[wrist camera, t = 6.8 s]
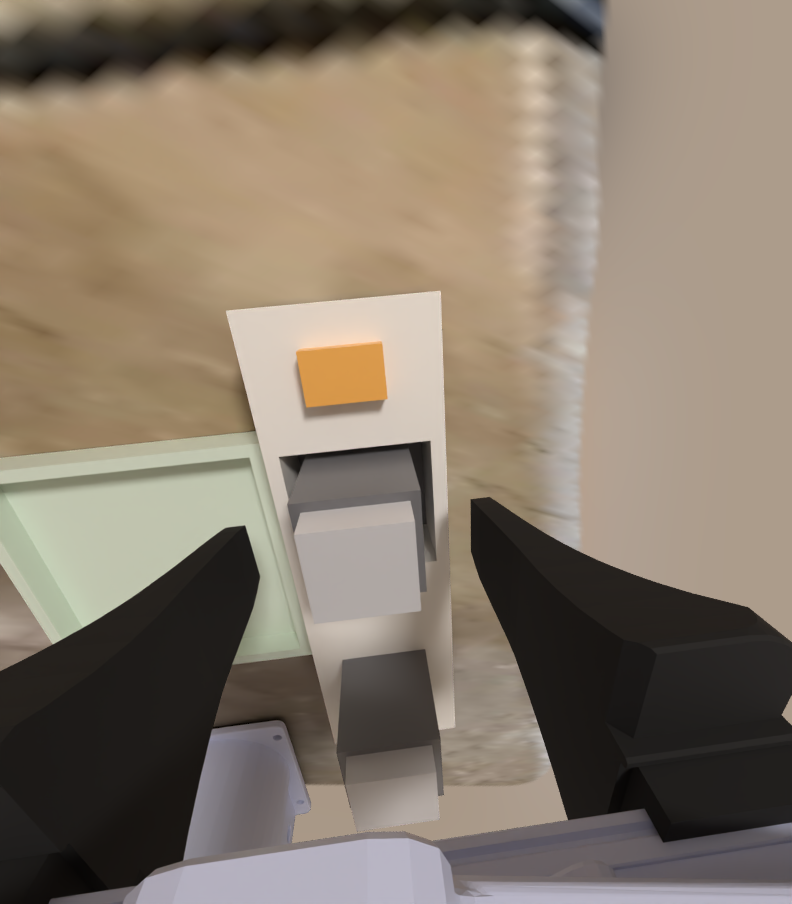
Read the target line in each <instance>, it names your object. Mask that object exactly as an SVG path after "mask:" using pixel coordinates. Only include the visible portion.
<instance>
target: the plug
mask: <svg viewBox="0 0 792 904" xmlns="http://www.w3.org/2000/svg"><path fill="white" fill-rule="evenodd" d="M287 506H288V511H289V515H290V519H291V524H292V528H293V532H294V538H295V543H296V547H297V551H298V556H299V560H300V564H301V569H302V573H303V577H304V582H305V586H306V590H307V595H308V599H309V603H310V608H311V612H312V616H313V621H314V624H319V623H327V622H335V621H344V620H352V619H360V618H368V617H376V616H385V615H393V614H401V613H409V612H418V611H421V600H420V592H427V586H426V569H425V553H424V537H423V520H422V504H421V490H420V486H419V483H418V479H417V476H416V472H415V469H414V465H413V462H412V458H411V455H410V451H409V448H408V444H407V443H404V444H394V445H385V446H376V447H366V448H357V449H348V450H339V451H329V452H320V453H311V454H306V456H305V459H304V462H303V464H302V467H301V469H300V472H299V475H298V477H297V480H296V483H295V485H294V488H293V490H292V493H291V496H290V498H289V501H288V503H287Z"/></svg>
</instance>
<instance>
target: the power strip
mask: <svg viewBox="0 0 792 904" xmlns="http://www.w3.org/2000/svg"><path fill="white" fill-rule="evenodd" d="M226 313H227V317H228V321H229V325H230V329H231V333H232V337H233V341H234V345H235V349H236V353H237V357H238V361H239V365H240V369H241V373H242V377H243V381H244V385H245V389H246V393H247V397H248V401H249V405H250V409H251V412H252V416H253V420H254V424H255V428H256V432H257V436H258V440H259V444H260V448H261V452H262V456H263V460H264V464H265V468H266V472H267V476H268V480H269V484H270V488H271V492H272V496H273V500H274V504H275V508H276V512H277V516H278V520H279V524H280V528H281V532H282V536H283V540H284V544H285V548H286V551H287V555H288V559H289V563H290V567H291V571H292V575H293V579H294V583H295V587H296V591H297V595H298V599H299V603H300V607H301V611H302V615H303V619H304V623H305V627H306V631H307V635H308V639H309V643H310V647H311V651H312V655H313V659H314V663H315V667H316V671H317V675H318V679H319V683H320V687H321V690H322V694H323V698H324V702H325V706H326V710H327V714H328V718H329V722H330V726H331V730H332V734H333V738H334V742H335V744H337V757H338V761H339V765H340V769H341V773H342V777H343V781H344V785H345V788H346V792H347V796H348V800H349V804H350V808H351V810H352V814H353V818H354V822H355V826H356V830H357V832H358V831H365V830H371V829H378V828H385V827H392V826H399V825H406V824H412V823H419V822H426V821H433V820H439V819H440V818H439V804H438V796H440V795H444V792H443V775H442V758H441V741H440V734H439V730H441V729H448V728H455V708H454V678H453V648H452V618H451V588H450V558H449V528H448V498H447V467H446V437H445V407H444V377H443V347H442V317H441V291H434V292H423V293H412V294H401V295H390V296H380V297H369V298H358V299H347V300H336V301H325V302H315V303H304V304H293V305H282V306H271V307H260V308H250V309H239V310H228V311H226ZM404 443H407V444H408V448H409V451H410V455H411V458H412V462H413V465H414V469H415V472H416V476H417V479H418V483H419V486H420V490H421V504H422V520H423V537H424V553H425V569H426V586H427V592H420V600H421V611H418V612H409V613H401V614H393V615H385V616H376V617H368V618H360V619H352V620H344V621H335V622H327V623H319V624H314V621H313V616H312V612H311V608H310V603H309V599H308V595H307V590H306V586H305V582H304V577H303V573H302V569H301V564H300V560H299V556H298V551H297V547H296V543H295V538H294V532H293V528H292V524H291V519H290V515H289V511H288V506H287V503H288V501H289V498H290V496H291V493H292V490H293V488H294V485H295V483H296V480H297V477H298V475H299V472H300V469H301V467H302V464H303V462H304V459H305V456H306V454H311V453H320V452H329V451H339V450H348V449H357V448H366V447H376V446H385V445H394V444H404Z"/></svg>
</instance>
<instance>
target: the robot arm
mask: <svg viewBox="0 0 792 904" xmlns="http://www.w3.org/2000/svg"><path fill="white" fill-rule="evenodd" d="M471 553H472V556H473V559H474V563H475V566H476V569H477V572H478V575H479V578H480V580H481V583H482V585H483V587H484V589H485V591H486V594H487V596H488V598H489V600H490V602H491V604H492V607H493V609H494V611H495V613H496V615H497V617H498V619H499V621H500V624H501V626H502V628H503V630H504V632H505V634H506V636H507V639H508V641H509V643H510V646H511V648H512V650H513V653H514V655H515V658H516V661H517V663H518V666H519V669H520V672H521V675H522V678H523V680H524V683H525V686H526V689H527V692H528V695H529V698H530V701H531V704H532V707H533V710H534V713H535V716H536V719H537V722H538V725H539V728H540V731H541V734H542V737H543V740H544V743H545V747H546V750H547V753H548V756H549V759H550V762H551V765H552V769H553V771H554V775H555V778H556V781H557V785H558V788H559V792H560V795H561V798H562V802H563V805H564V808H565V812H566V815H567V818H568V820H566V821H560V822H553V823H546V824H540V825H534V826H527V827H520V828H514V829H507V830H501V831H494V832H488V833H481V834H474V835H467V836H462V837H454V838H448V839H441V840H435V841H431V840H428V839H425V838H422V837H419V836H416V835H413V834H410V833H407V832H365V833H358V834H351V835H345V836H338V837H331V838H325V839H318V840H311V841H305V842H298V843H292V836H293V829H294V821H295V815H299V814H305V813H308V812H309V811H310V808H311V801H310V798H309V795H308V792H307V789H306V786H305V783H304V780H303V777H302V774H301V771H300V768H299V765H298V762H297V759H296V756H295V753H294V749H293V746H292V743H291V740H290V737H289V734H288V731H287V728H286V725H285V724H284V722H282V721H279V720H275V721H267V722H260V723H252V724H245V725H237V726H230V727H222V728H215V729H212V728H213V725H214V721H215V717H216V713H217V710H218V706H219V702H220V699H221V695H222V692H223V689H224V686H225V683H226V680H227V677H228V674H229V672H230V669H231V666H232V664H233V661H234V658H235V656H236V653H237V650H238V648H239V645H240V642H241V640H242V637H243V635H244V632H245V629H246V626H247V624H248V621H249V618H250V616H251V613H252V610H253V607H254V603H255V599H256V595H257V590H258V586H259V581H260V574H259V570H258V567H257V563H256V560H255V557H254V553H253V550H252V546H251V543H250V540H249V536H248V533H247V529H246V526H245V525H244V526H235V527H227V528H224V529H223V530H221V531H220V532H218V533H217V534H216V535H214V536H213V537H212V538H210V539H209V540H208V541H206V542H205V543H204V544H203V545H201V546H200V547H199V548H198V549H196V550H195V551H194V552H192V553H191V554H190V555H189V556H187V557H186V558H185V559H183V560H182V561H181V562H180V563H178V564H177V565H176V566H174V567H173V568H172V569H171V570H169V571H168V572H166V573H165V574H164V575H162V576H161V577H160V578H158V579H157V580H155V581H154V582H153V583H151V584H150V585H149V586H147V587H146V588H144V589H143V590H142V591H140V592H139V593H137V594H136V595H135V596H133V597H132V598H130V599H129V600H127V601H126V602H124V603H123V604H121V605H119V606H118V607H116V608H115V609H113V610H112V611H110V612H108V613H107V614H105V615H104V616H102V617H100V618H99V619H97V620H95V621H94V622H92V623H90V624H89V625H87V626H85V627H83V628H81V629H80V630H78V631H76V632H74V633H73V634H71V635H69V636H67V637H65V638H64V639H62V640H60V641H58V642H56V643H55V644H53V645H51V646H49V647H47V648H46V649H44V650H42V651H40V652H38V653H36V654H34V655H32V656H30V657H28V658H26V659H24V660H22V661H20V662H18V663H16V664H14V665H12V666H10V667H8V668H6V669H4V670H2V671H0V904H792V725H791V724H790V723H788V721H786V719H785V718H784V717H783V716H782V713H783V711H784V709H785V707H786V705H787V703H788V701H789V699H790V697H791V695H792V642H791V641H790V640H788V639H787V638H786V637H784V636H783V635H782V634H781V633H779V632H778V631H777V630H776V629H775V628H773V627H772V626H771V625H770V624H768V623H767V622H766V621H764V620H763V619H762V618H761V617H760V616H758V615H757V614H756V613H754V612H753V611H752V610H751V609H750V608H748V607H745V606H741V605H737V604H733V603H729V602H725V601H721V600H717V599H713V598H709V597H705V596H701V595H697V594H692V593H689V592H686V591H682V590H679V589H676V588H673V587H669V586H666V585H662V584H660V583H656V582H653V581H651V580H647V579H645V578H642V577H639V576H636V575H633V574H631V573H628V572H625V571H623V570H620V569H618V568H615V567H613V566H610V565H608V564H605V563H603V562H601V561H598V560H596V559H594V558H592V557H590V556H587V555H585V554H583V553H581V552H579V551H577V550H575V549H573V548H571V547H569V546H567V545H565V544H563V543H561V542H560V541H558V540H556V539H554V538H552V537H551V536H549V535H547V534H545V533H544V532H542V531H540V530H539V529H537V528H536V527H534V526H532V525H531V524H529V523H528V522H526V521H525V520H523V519H521V518H520V517H518V516H517V515H515V514H514V513H513V512H511V511H510V510H508V509H507V508H505V507H504V506H502V505H501V504H499V503H498V502H496V501H495V500H493V499H492V498H490V497H487V498H478V499H471Z"/></svg>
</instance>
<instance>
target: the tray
mask: <svg viewBox="0 0 792 904" xmlns="http://www.w3.org/2000/svg"><path fill="white" fill-rule="evenodd" d="M244 525H245V526H246V529H247V533H248V536H249V540H250V543H251V546H252V550H253V553H254V557H255V560H256V563H257V567H258V570H259V574H260V581H259V586H258V590H257V595H256V599H255V603H254V607H253V610H252V613H251V616H250V618H249V621H248V624H247V626H246V629H245V632H244V635H243V637H242V640H241V642H240V645H239V648H238V650H237V653H236V656H235V658H234V661H233V664H232V665H235V664H243V663H250V662H258V661H266V660H274V659H282V658H289V657H297V656H305V655H312V651H311V647H310V643H309V639H308V635H307V631H306V627H305V623H304V619H303V615H302V611H301V607H300V603H299V599H298V595H297V591H296V587H295V583H294V579H293V575H292V571H291V567H290V563H289V559H288V555H287V551H286V548H285V544H284V540H283V536H282V532H281V528H280V524H279V520H278V516H277V512H276V508H275V504H274V500H273V496H272V492H271V488H270V484H269V480H268V476H267V472H266V468H265V464H264V460H263V456H262V452H261V448H260V444H259V440H258V436H257V432H256V431H252V432H243V433H233V434H224V435H214V436H205V437H195V438H185V439H176V440H166V441H157V442H147V443H138V444H128V445H119V446H109V447H100V448H90V449H81V450H71V451H61V452H52V453H42V454H33V455H23V456H14V457H4V458H0V563H1V565H2V566H3V568H4V570H5V571H6V573H7V574H8V576H9V577H10V579H11V580H12V582H13V584H14V585H15V587H16V588H17V590H18V591H19V593H20V594H21V596H22V597H23V599H24V601H25V602H26V604H27V605H28V607H29V608H30V610H31V611H32V613H33V614H34V616H35V618H36V619H37V621H38V622H39V624H40V625H41V627H42V628H43V630H44V631H45V633H46V635H47V636H48V638H49V639H50V641H51V642H52V644H55V643H56V642H58V641H60V640H62V639H64V638H65V637H67V636H69V635H71V634H73V633H74V632H76V631H78V630H80V629H81V628H83V627H85V626H87V625H89V624H90V623H92V622H94V621H95V620H97V619H99V618H100V617H102V616H104V615H105V614H107V613H108V612H110V611H112V610H113V609H115V608H116V607H118V606H119V605H121V604H123V603H124V602H126V601H127V600H129V599H130V598H132V597H133V596H135V595H136V594H137V593H139V592H140V591H142V590H143V589H144V588H146V587H147V586H149V585H150V584H151V583H153V582H154V581H155V580H157V579H158V578H160V577H161V576H162V575H164V574H165V573H166V572H168V571H169V570H171V569H172V568H173V567H174V566H176V565H177V564H178V563H180V562H181V561H182V560H183V559H185V558H186V557H187V556H189V555H190V554H191V553H192V552H194V551H195V550H196V549H198V548H199V547H200V546H201V545H203V544H204V543H205V542H206V541H208V540H209V539H210V538H212V537H213V536H214V535H216V534H217V533H218V532H220V531H221V530H223V529H224V528H227V527H235V526H244Z"/></svg>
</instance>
